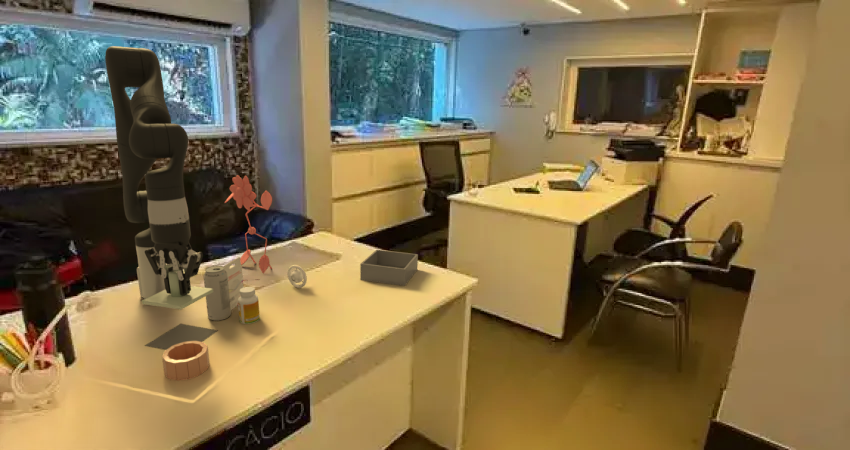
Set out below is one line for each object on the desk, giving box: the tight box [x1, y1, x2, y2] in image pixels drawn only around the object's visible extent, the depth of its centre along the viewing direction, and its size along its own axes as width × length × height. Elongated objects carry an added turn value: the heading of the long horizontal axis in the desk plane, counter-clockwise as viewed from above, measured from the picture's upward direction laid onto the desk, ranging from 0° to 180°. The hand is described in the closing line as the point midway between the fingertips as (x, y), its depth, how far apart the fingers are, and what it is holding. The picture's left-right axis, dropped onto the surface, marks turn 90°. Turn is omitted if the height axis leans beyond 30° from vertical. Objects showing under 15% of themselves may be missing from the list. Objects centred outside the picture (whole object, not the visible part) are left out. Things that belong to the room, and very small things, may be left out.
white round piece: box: [286, 264, 308, 289], centre depth 152 cm, size 8×6×8 cm
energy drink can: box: [203, 265, 232, 322], centre depth 128 cm, size 6×6×15 cm
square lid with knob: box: [141, 270, 213, 310], centre depth 102 cm, size 10×10×6 cm
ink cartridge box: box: [223, 256, 244, 311], centre depth 136 cm, size 9×5×15 cm, turn 169°
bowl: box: [161, 341, 210, 381], centre depth 105 cm, size 9×9×5 cm
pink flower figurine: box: [224, 174, 273, 282], centre depth 160 cm, size 15×26×35 cm, turn 57°
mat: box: [144, 323, 219, 351], centre depth 119 cm, size 12×12×1 cm
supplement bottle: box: [237, 286, 261, 325], centre depth 128 cm, size 5×5×10 cm
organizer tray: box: [359, 249, 419, 287], centre depth 165 cm, size 16×16×6 cm
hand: (178, 293), depth 103 cm, fingers closed on square lid with knob, 3 cm apart
